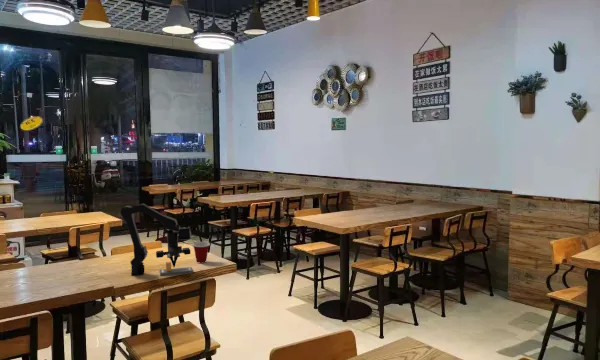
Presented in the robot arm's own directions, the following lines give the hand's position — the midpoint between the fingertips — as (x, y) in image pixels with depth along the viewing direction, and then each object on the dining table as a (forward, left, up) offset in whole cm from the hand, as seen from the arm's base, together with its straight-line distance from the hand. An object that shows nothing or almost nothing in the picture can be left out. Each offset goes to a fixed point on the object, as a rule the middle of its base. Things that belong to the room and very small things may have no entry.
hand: (174, 267), depth 254 cm
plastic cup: (+18, +20, -4) cm, 27 cm away
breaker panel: (+1, 0, -3) cm, 3 cm away
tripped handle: (-3, 0, -1) cm, 3 cm away
